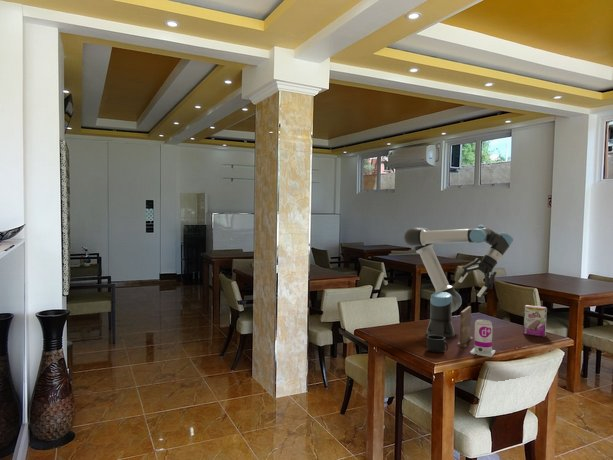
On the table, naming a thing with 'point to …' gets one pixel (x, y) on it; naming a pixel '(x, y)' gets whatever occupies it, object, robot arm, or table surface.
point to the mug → (436, 343)
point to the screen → (465, 327)
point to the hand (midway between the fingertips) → (468, 289)
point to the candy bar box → (535, 320)
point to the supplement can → (483, 336)
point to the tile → (483, 353)
